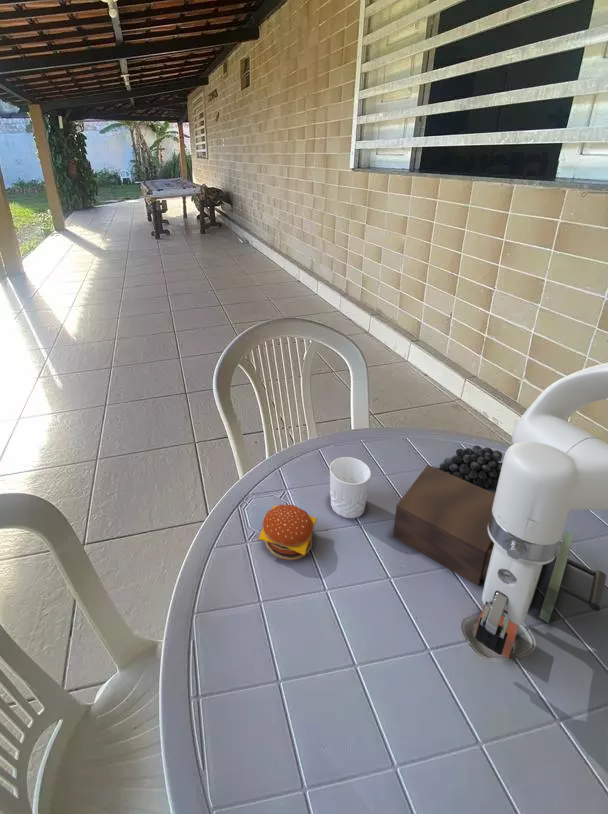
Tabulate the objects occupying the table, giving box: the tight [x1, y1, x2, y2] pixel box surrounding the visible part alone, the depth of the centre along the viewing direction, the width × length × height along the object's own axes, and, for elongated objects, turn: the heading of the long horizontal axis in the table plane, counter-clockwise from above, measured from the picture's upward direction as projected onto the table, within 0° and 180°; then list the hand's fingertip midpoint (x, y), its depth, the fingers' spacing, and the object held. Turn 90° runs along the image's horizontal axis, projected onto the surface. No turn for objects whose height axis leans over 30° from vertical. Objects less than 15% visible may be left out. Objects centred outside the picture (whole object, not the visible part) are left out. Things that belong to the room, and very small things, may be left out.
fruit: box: [436, 445, 503, 489], centre depth 92 cm, size 9×8×15 cm
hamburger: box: [258, 504, 318, 561], centre depth 80 cm, size 9×10×7 cm
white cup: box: [329, 456, 372, 519], centre depth 86 cm, size 8×8×10 cm
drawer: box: [480, 530, 607, 623], centre depth 70 cm, size 18×13×7 cm
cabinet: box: [392, 464, 496, 587], centre depth 78 cm, size 15×15×9 cm
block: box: [474, 601, 520, 659], centre depth 62 cm, size 4×4×4 cm
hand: (498, 619), depth 62 cm, fingers open, 9 cm apart
